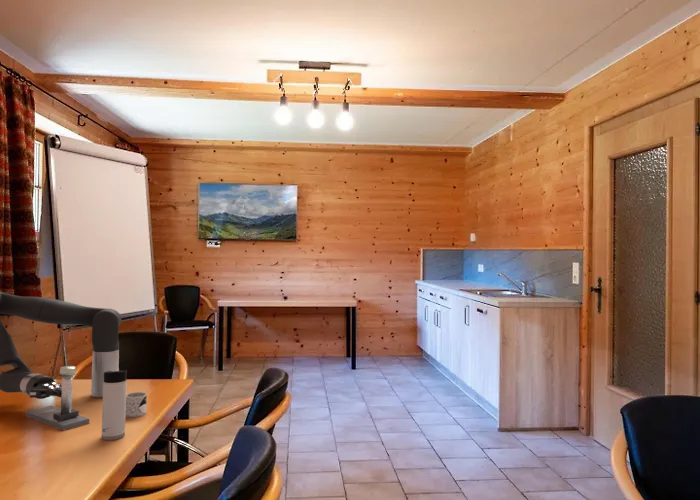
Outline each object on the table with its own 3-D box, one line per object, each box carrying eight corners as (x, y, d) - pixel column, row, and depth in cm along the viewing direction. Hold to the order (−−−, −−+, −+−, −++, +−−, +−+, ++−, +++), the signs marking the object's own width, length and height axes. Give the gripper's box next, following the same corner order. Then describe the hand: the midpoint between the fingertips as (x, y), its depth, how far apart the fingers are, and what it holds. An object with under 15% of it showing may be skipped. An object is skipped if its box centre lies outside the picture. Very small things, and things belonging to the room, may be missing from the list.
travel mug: (101, 442, 135) (103, 372, 136) (101, 434, 141) (103, 368, 142) (125, 438, 138) (127, 371, 139) (124, 431, 144) (126, 366, 145)
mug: (143, 416, 158) (144, 397, 158) (122, 417, 157) (123, 397, 157) (149, 407, 168) (150, 389, 168) (130, 408, 166) (130, 389, 167)
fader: (52, 418, 149) (54, 368, 150) (71, 413, 154) (73, 364, 155) (59, 421, 147) (61, 370, 147) (79, 415, 152) (80, 366, 153)
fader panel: (25, 415, 156) (25, 411, 156) (50, 409, 163) (50, 405, 163) (63, 430, 144) (63, 425, 144) (89, 423, 151) (89, 418, 151)
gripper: (16, 378, 155) (42, 386, 146) (58, 371, 166) (85, 378, 157) (15, 401, 155) (41, 410, 146) (57, 392, 166) (84, 400, 157)
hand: (64, 393), depth 152 cm, fingers closed
